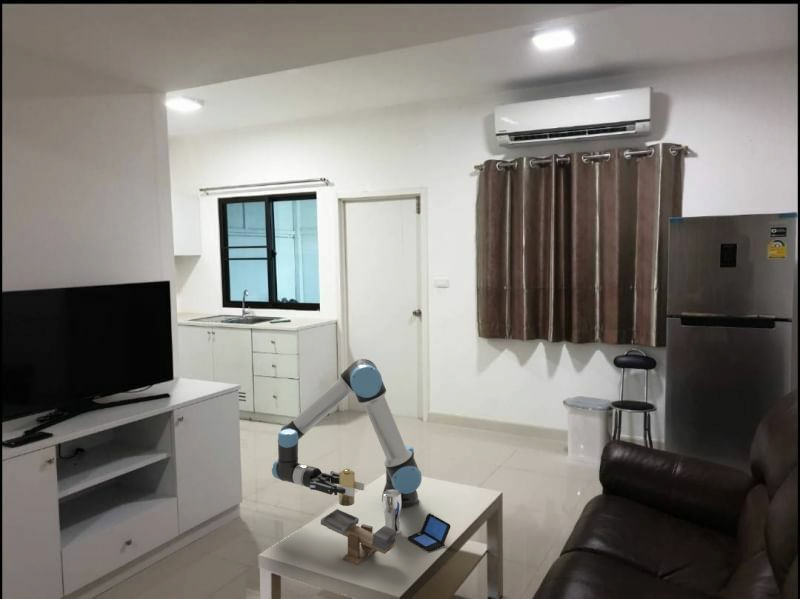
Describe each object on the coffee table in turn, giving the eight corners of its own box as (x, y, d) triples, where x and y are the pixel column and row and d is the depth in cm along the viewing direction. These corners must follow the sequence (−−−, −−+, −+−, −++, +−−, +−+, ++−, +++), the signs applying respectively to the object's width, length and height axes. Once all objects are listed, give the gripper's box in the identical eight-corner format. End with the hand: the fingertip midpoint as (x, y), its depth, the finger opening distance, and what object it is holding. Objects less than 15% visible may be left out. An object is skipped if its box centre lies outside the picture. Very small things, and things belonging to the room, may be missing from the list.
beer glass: (403, 528, 228) (403, 490, 227) (397, 536, 221) (397, 497, 220) (386, 525, 230) (386, 487, 229) (380, 533, 224) (380, 495, 222)
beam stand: (362, 544, 216) (362, 521, 215) (376, 548, 213) (376, 525, 212) (343, 559, 205) (343, 536, 205) (357, 564, 202) (357, 540, 202)
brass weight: (345, 498, 222) (345, 466, 220) (357, 501, 219) (357, 469, 218) (335, 503, 217) (335, 470, 216) (348, 507, 214) (348, 474, 213)
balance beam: (336, 517, 219) (337, 503, 218) (396, 544, 207) (398, 529, 206) (320, 528, 211) (321, 513, 210) (381, 556, 199) (383, 541, 198)
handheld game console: (406, 539, 220) (406, 520, 219) (428, 531, 226) (428, 512, 226) (428, 553, 210) (428, 533, 209) (451, 544, 217) (451, 524, 216)
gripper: (323, 477, 235) (372, 490, 223) (291, 494, 219) (343, 509, 207) (323, 459, 234) (373, 471, 222) (291, 474, 218) (343, 488, 206)
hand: (358, 489), depth 214 cm, fingers closed on brass weight, 6 cm apart
